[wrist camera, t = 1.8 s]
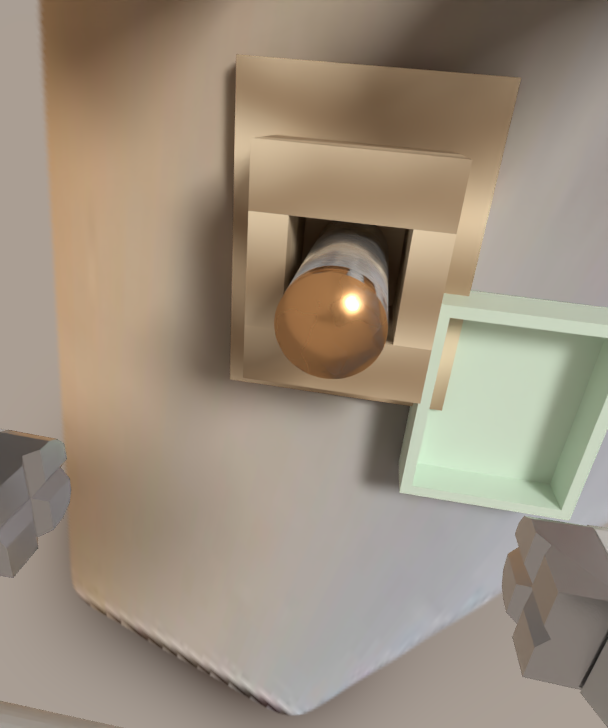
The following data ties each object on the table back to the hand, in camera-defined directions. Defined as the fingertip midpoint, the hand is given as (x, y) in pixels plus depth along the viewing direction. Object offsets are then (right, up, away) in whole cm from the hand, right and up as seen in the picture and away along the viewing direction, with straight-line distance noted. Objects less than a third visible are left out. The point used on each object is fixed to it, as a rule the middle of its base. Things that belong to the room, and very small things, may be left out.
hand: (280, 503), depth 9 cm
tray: (+11, +1, +19) cm, 22 cm away
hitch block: (+3, +8, +17) cm, 19 cm away
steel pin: (+3, +8, +16) cm, 18 cm away
